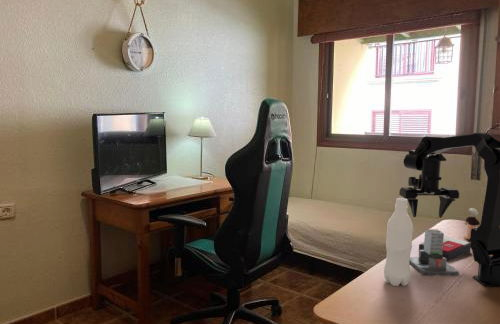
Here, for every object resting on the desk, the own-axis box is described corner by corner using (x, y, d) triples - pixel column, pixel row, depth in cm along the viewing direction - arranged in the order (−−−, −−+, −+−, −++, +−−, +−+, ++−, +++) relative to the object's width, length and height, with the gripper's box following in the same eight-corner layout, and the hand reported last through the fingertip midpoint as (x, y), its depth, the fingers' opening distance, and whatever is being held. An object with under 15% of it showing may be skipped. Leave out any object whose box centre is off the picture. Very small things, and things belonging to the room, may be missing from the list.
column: (442, 255, 128) (444, 233, 127) (430, 255, 128) (431, 233, 127) (435, 250, 133) (437, 229, 132) (423, 250, 133) (425, 229, 132)
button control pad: (418, 242, 146) (441, 233, 154) (418, 254, 146) (441, 244, 155) (448, 251, 137) (471, 241, 145) (447, 263, 137) (470, 252, 146)
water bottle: (411, 289, 115) (417, 202, 112) (384, 286, 117) (390, 201, 113) (407, 279, 122) (412, 196, 119) (382, 276, 124) (386, 195, 120)
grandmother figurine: (458, 237, 162) (461, 206, 160) (465, 236, 164) (467, 205, 162) (476, 243, 155) (479, 211, 154) (483, 242, 157) (486, 210, 155)
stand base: (458, 275, 126) (460, 258, 125) (423, 275, 125) (424, 258, 124) (438, 260, 138) (440, 245, 137) (406, 260, 137) (407, 245, 136)
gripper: (444, 169, 149) (441, 211, 151) (394, 168, 148) (391, 211, 150) (462, 174, 138) (458, 219, 140) (407, 174, 137) (404, 219, 139)
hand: (427, 217), depth 143 cm, fingers open, 9 cm apart
